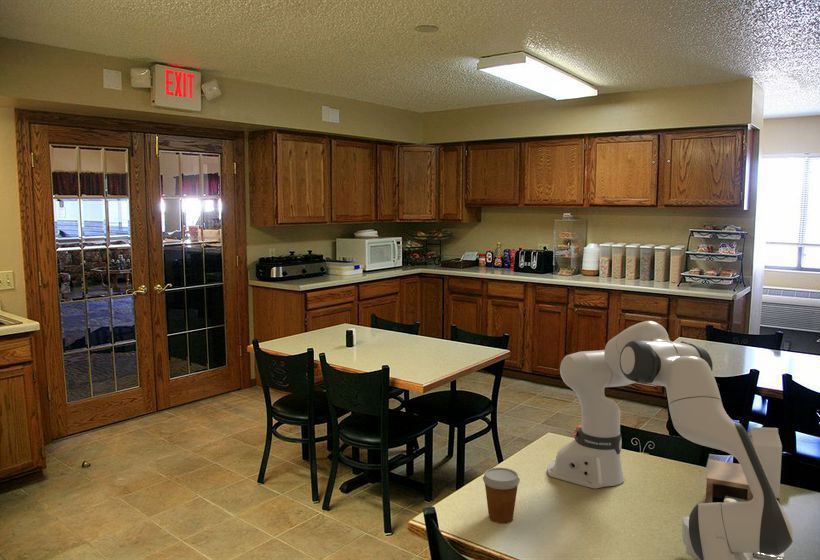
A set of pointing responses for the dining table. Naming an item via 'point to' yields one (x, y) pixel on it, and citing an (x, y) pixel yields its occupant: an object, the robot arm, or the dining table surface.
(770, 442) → the milk carton
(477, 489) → the dining table surface
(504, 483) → the disposable coffee cup
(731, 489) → the walnut cubby
